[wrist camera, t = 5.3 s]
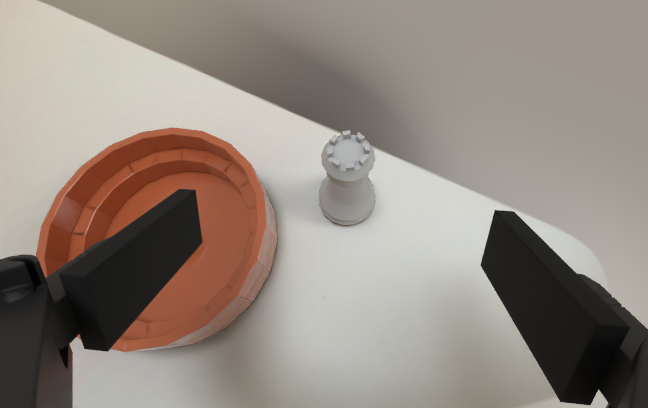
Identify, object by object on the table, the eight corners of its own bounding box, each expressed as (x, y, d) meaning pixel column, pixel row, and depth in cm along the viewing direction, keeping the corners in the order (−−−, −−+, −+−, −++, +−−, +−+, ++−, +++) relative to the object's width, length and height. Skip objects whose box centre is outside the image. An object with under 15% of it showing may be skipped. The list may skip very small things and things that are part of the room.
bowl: (312, 202, 27) (307, 178, 23) (204, 391, 22) (173, 403, 18) (165, 133, 30) (137, 100, 26) (44, 285, 26) (-14, 275, 21)
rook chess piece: (350, 165, 28) (353, 104, 21) (386, 204, 27) (403, 153, 19) (308, 197, 27) (295, 144, 20) (342, 238, 26) (342, 198, 18)
